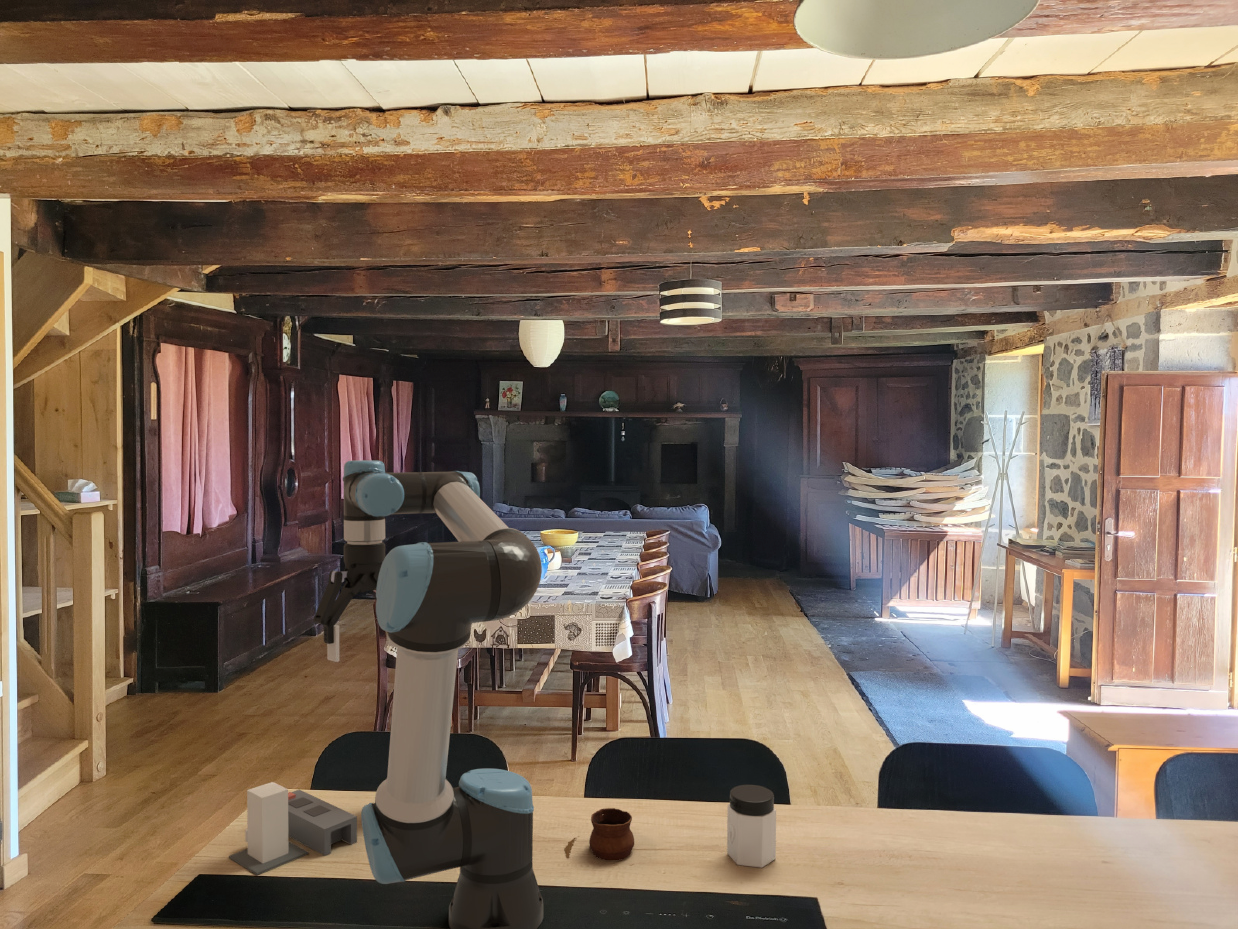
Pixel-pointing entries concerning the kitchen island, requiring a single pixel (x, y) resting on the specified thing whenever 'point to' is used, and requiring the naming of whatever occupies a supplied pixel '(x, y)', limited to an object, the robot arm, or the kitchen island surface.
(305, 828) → the power strip
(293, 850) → the mat
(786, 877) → the kitchen island surface
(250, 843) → the charger
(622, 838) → the ceramic pot
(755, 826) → the jar
